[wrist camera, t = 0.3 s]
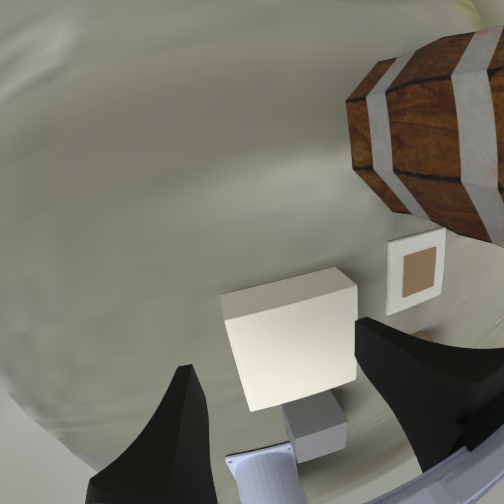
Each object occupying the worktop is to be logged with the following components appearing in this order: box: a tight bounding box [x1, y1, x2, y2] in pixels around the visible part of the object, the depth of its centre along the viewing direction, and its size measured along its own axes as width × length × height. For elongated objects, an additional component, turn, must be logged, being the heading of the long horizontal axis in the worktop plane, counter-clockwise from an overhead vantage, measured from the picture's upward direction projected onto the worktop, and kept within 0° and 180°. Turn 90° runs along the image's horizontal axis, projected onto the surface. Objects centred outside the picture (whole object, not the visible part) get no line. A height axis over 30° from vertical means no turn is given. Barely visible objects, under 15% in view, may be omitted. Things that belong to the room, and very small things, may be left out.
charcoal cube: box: [281, 389, 348, 463], centre depth 25 cm, size 5×5×5 cm
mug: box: [346, 25, 504, 248], centre depth 13 cm, size 20×14×15 cm
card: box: [386, 227, 446, 316], centre depth 24 cm, size 7×7×1 cm
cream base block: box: [220, 267, 358, 412], centre depth 22 cm, size 9×9×4 cm
